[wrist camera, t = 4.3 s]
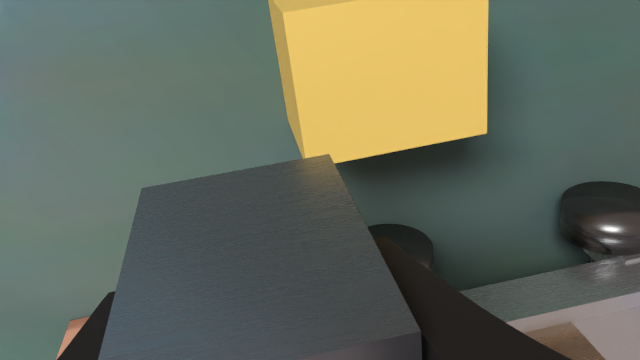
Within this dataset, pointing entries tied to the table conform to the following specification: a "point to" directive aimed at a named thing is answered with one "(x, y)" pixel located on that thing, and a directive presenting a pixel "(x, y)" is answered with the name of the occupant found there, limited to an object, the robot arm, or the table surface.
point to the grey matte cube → (257, 273)
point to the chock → (381, 73)
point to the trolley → (569, 278)
